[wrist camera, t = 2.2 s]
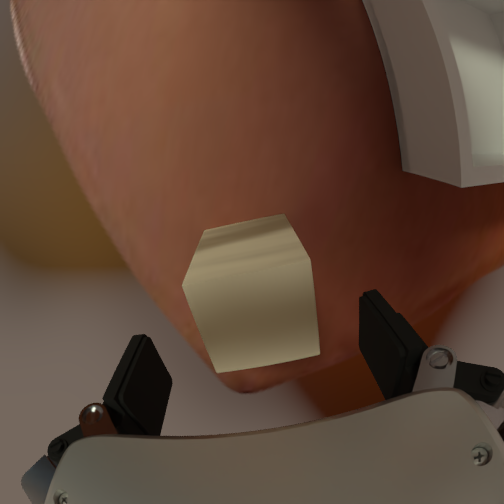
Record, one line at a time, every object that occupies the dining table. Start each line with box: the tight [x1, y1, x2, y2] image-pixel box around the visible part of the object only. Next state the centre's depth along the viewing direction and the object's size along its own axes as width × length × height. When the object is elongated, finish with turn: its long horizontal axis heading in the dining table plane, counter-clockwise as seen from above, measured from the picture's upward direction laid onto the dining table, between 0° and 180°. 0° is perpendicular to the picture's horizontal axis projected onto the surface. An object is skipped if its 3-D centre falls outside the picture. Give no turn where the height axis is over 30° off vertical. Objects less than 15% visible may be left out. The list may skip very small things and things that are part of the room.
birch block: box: [182, 214, 320, 373], centre depth 14 cm, size 5×5×7 cm
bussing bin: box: [362, 0, 504, 188], centre depth 9 cm, size 16×16×6 cm
